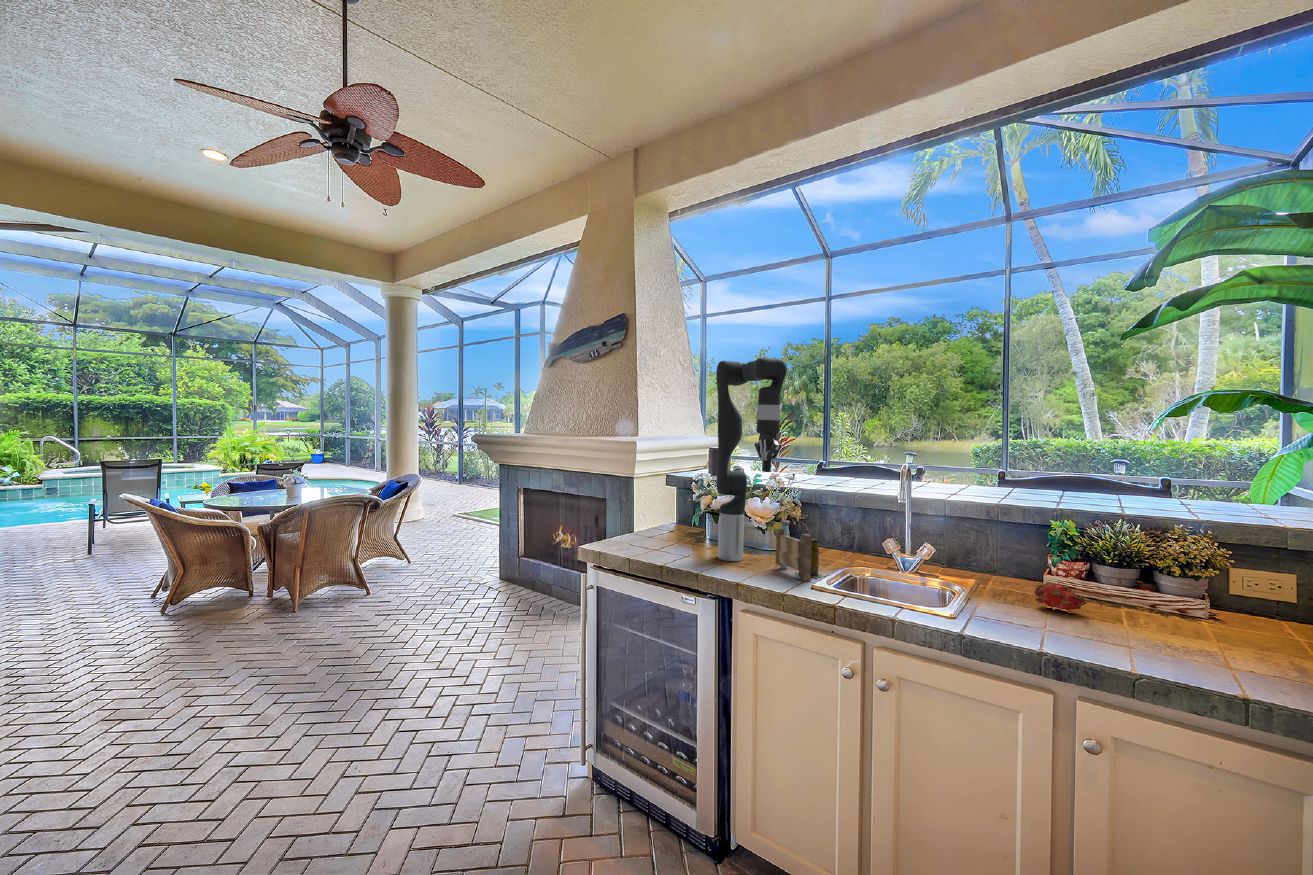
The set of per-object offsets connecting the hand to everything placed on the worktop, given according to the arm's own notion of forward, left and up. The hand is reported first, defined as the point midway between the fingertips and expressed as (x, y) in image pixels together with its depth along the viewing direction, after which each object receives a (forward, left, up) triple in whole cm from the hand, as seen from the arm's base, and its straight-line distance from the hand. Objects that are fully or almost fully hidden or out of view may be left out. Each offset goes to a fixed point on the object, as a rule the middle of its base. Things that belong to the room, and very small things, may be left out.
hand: (766, 471), depth 172 cm
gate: (-3, +12, -34) cm, 36 cm away
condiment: (0, +19, -35) cm, 40 cm away
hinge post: (+6, +12, -35) cm, 37 cm away
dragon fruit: (+50, +66, -35) cm, 90 cm away
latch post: (-9, +14, -35) cm, 39 cm away
